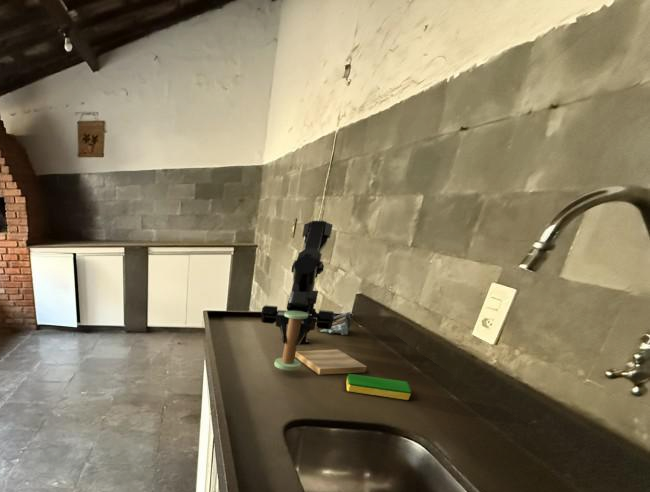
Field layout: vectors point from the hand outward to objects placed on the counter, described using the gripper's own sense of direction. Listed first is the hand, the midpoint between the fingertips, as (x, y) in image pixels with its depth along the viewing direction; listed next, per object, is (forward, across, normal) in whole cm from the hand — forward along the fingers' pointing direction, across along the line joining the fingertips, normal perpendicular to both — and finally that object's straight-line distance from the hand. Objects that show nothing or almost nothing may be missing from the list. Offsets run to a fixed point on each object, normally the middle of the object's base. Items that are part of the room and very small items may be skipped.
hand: (290, 343), depth 115 cm
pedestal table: (+4, 0, +6) cm, 7 cm away
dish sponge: (+8, +23, +6) cm, 25 cm away
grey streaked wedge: (-28, +12, +42) cm, 52 cm away
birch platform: (-3, +11, +17) cm, 20 cm away
